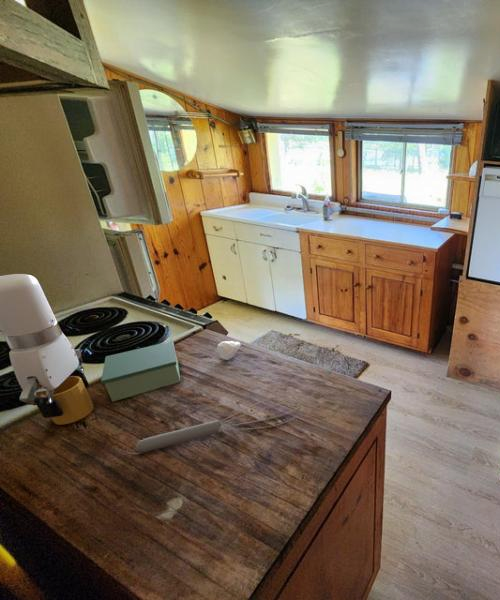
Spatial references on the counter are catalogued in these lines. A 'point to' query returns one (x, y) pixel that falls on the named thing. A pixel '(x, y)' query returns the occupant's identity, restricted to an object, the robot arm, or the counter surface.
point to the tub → (140, 370)
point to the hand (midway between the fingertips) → (68, 400)
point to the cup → (71, 400)
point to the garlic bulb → (228, 349)
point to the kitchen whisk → (197, 431)
